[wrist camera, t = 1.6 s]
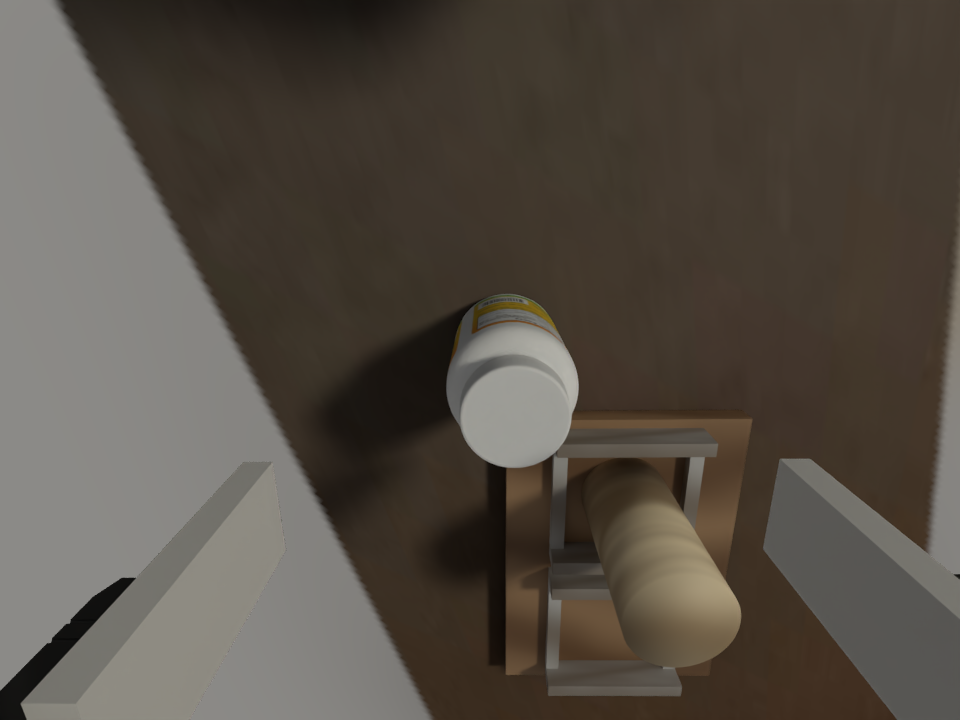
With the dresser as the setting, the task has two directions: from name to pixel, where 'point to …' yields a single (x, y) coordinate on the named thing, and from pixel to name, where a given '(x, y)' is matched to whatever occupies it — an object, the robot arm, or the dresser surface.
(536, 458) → the supplement bottle
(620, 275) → the dresser surface
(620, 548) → the beech dowel
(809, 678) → the dresser surface
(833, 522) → the robot arm
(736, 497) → the board
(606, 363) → the dresser surface
